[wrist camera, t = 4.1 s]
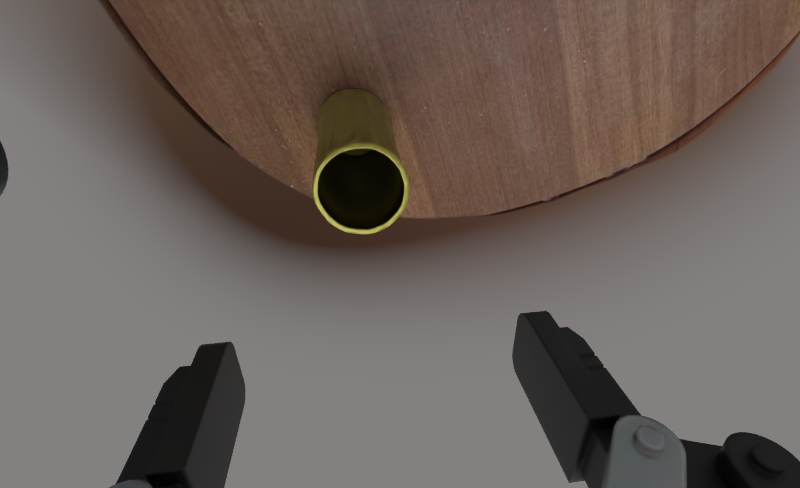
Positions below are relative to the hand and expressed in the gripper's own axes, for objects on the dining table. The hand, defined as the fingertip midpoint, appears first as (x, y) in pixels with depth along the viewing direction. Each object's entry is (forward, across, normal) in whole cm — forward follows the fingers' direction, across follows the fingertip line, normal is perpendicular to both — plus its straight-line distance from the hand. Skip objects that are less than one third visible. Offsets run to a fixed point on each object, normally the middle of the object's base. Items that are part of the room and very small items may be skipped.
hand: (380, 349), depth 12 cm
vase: (+26, 0, 0) cm, 26 cm away
